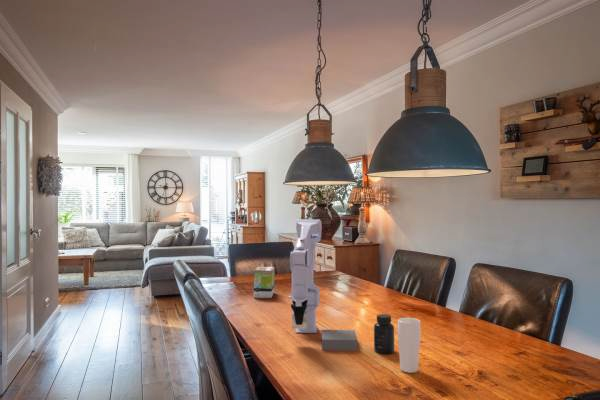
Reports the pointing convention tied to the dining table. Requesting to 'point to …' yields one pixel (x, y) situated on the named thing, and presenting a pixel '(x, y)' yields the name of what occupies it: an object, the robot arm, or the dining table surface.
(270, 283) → the tea box
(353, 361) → the dining table surface
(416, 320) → the drinking glass
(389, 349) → the supplement bottle
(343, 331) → the charcoal box
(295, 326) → the birch block
